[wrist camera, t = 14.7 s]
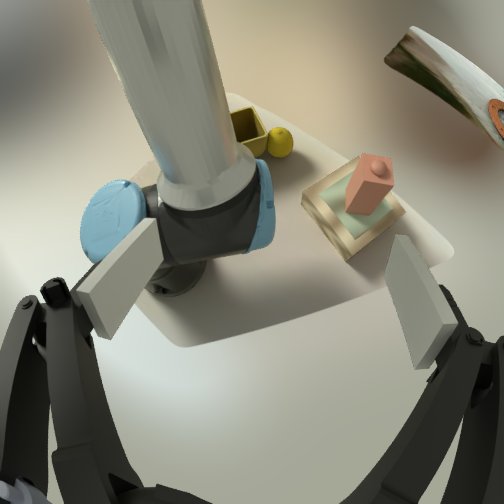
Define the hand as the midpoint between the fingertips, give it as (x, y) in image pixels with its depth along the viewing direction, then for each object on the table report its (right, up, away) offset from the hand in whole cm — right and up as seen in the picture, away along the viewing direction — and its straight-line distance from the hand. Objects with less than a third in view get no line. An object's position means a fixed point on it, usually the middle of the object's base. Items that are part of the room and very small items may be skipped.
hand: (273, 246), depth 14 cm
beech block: (+18, +7, +37) cm, 42 cm away
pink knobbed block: (+17, +8, +31) cm, 37 cm away
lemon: (+5, +21, +42) cm, 47 cm away
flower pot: (-3, +21, +42) cm, 48 cm away
